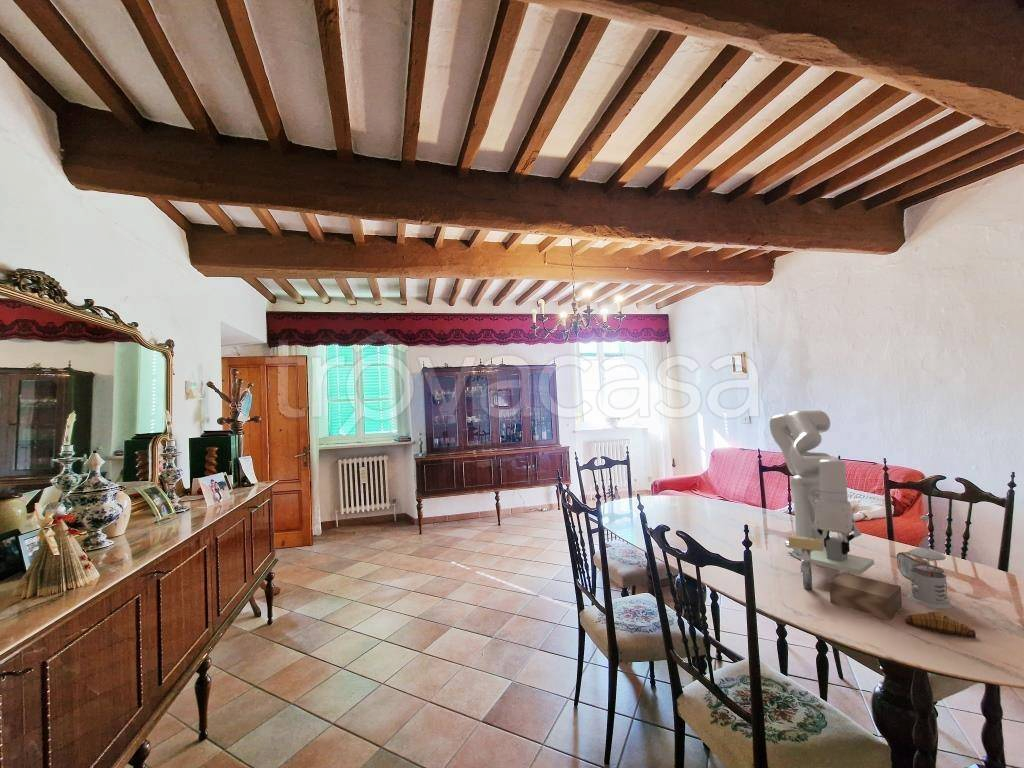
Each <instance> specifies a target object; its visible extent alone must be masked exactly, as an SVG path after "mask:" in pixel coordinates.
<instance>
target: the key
mask: <svg viewBox="0 0 1024 768" xmlns="http://www.w3.org/2000/svg"><path fill="white" fill-rule="evenodd" d="M787 538H788V541H789V547H795V548H801V550H802V560H801V563H800V564H801V565H800V573H802V581H803V582H802V585H803V589H806V590H813V577H812V576H813V573H812V571H813V570H812V563H811V553H810V550H816V551H823V540H822V539H816V538H809V537H801V536H796V535H792V534H789V535H788V537H787Z"/></svg>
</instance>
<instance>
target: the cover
mask: <svg viewBox="0 0 1024 768" xmlns="http://www.w3.org/2000/svg"><path fill="white" fill-rule="evenodd" d="M842 542H843V538H840V537H835V536H832V537H831V538H829V539H828V540H826V550H827V551H826V550H824V549H823V551H816V550H813V551H812V552H810V553H811V565H816V566H821V567H824V568H825V567H826V568H828V569H834V570H837V571H842V572H845V573H849V574H854V575H855V574H856V575H858V576H862V574H864V573H865V572H866V571H867V570H870V568H871V567H873V566H874V565H875V560H874V559H872V558H867V557H863V556H857V555H852V554H848V553H847V554H846V555H844V554H843V553H842Z"/></svg>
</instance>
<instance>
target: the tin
mask: <svg viewBox="0 0 1024 768" xmlns="http://www.w3.org/2000/svg"><path fill="white" fill-rule="evenodd" d="M895 557H896V564H897V568H898V570H899V572H900V573H901V575H902V576H903V577H904V578H906V579H908V580H909V579H910V581H911V579H912V578H911V569H914V568H913V567H912V565H913V564H916V563H920V564H927V561H928V560H926V559H923V558H919V557H916V556H913V555H911V554H910V553H909V551H904V552H897V554H896V556H895ZM913 573H916V572H913ZM916 574H918V575H919V573H916ZM929 577H932V578H933V573H930V574H929ZM913 582H915V583H917V581H913Z"/></svg>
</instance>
